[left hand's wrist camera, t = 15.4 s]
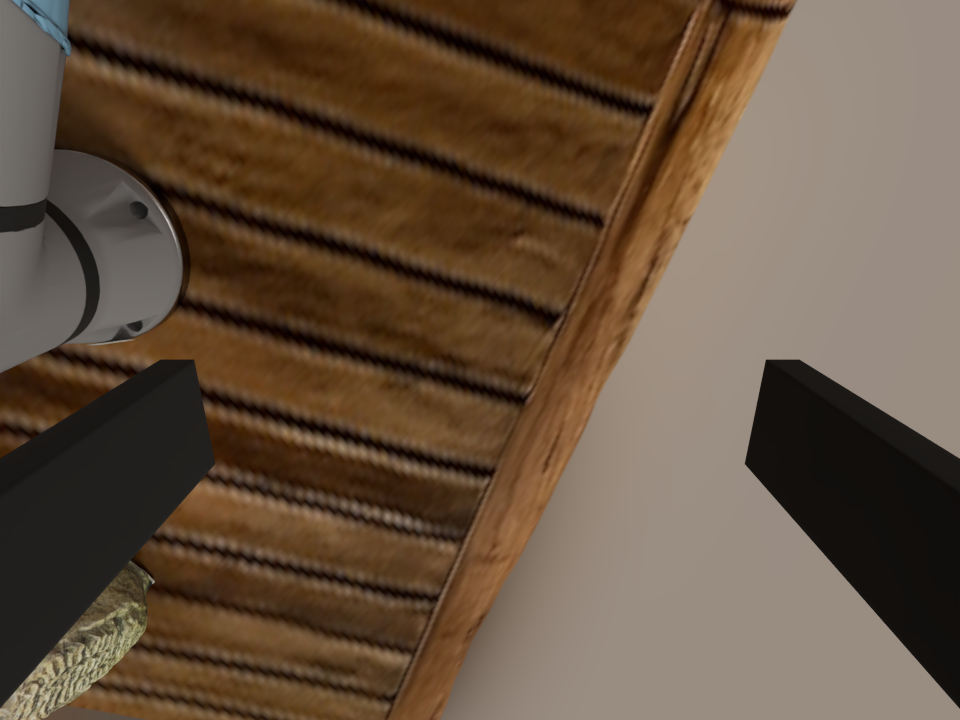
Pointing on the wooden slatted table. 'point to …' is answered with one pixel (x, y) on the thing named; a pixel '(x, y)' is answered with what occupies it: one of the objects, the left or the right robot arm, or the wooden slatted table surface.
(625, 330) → the wooden slatted table surface
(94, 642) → the fossil
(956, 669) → the left robot arm
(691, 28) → the wooden slatted table surface
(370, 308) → the wooden slatted table surface
